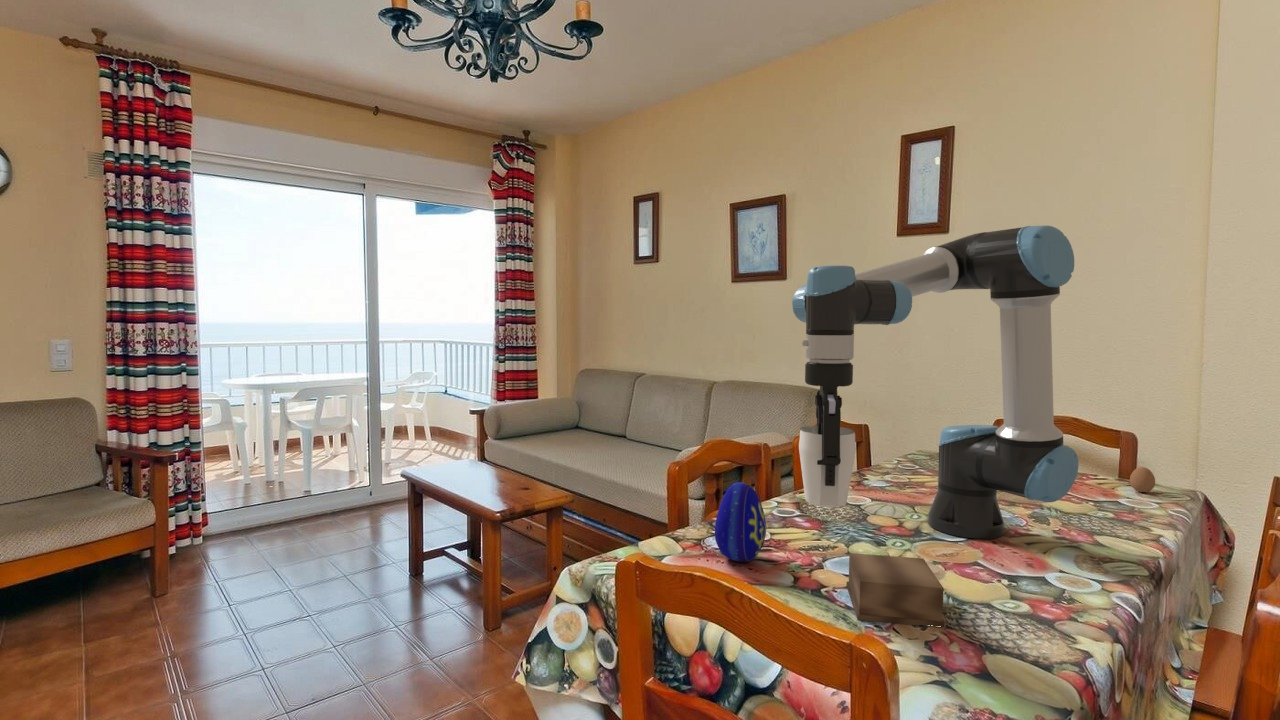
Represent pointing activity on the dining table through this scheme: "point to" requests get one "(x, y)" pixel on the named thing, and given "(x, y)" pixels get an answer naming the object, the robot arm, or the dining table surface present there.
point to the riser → (894, 590)
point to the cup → (811, 471)
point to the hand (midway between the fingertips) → (826, 496)
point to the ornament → (740, 523)
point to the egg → (1142, 479)
